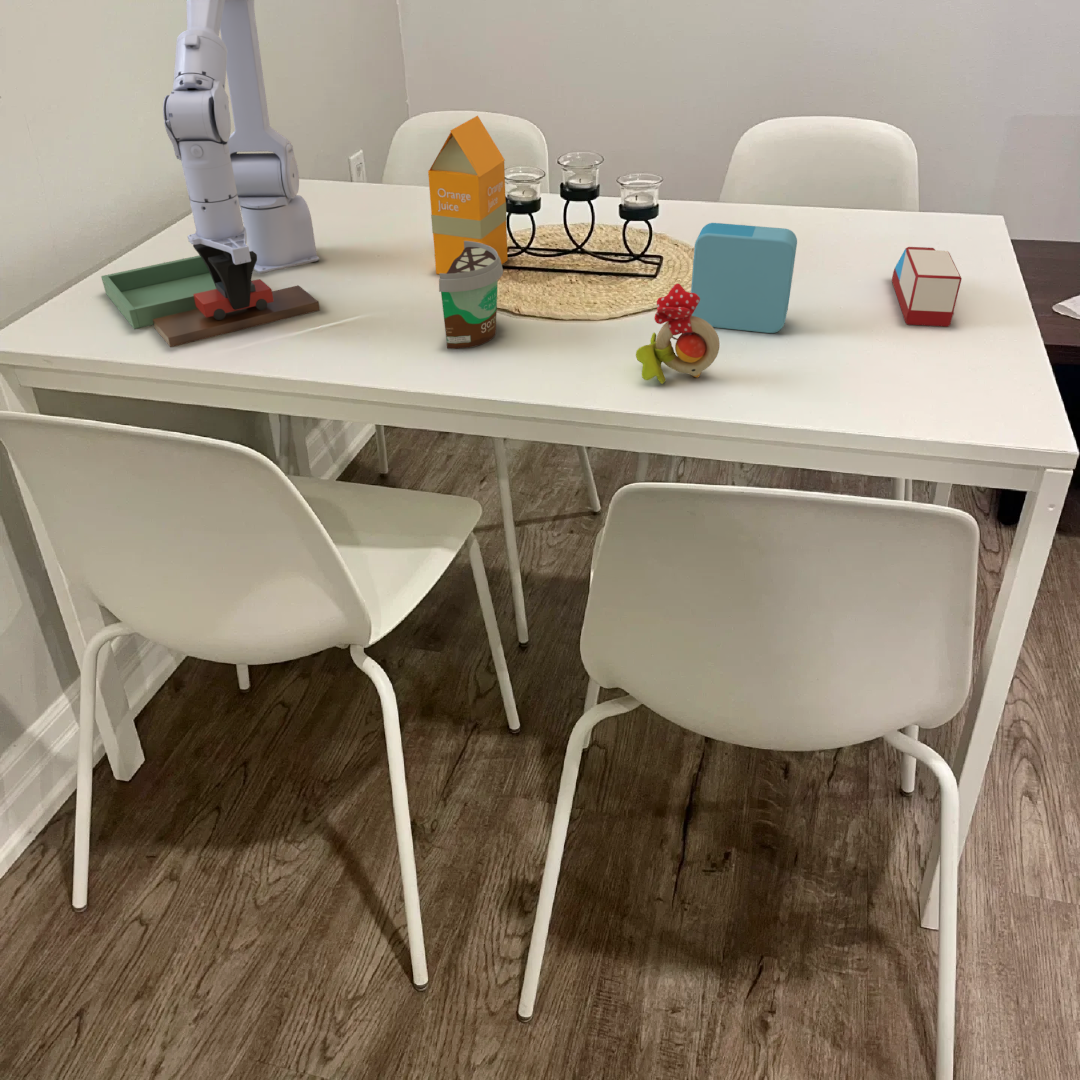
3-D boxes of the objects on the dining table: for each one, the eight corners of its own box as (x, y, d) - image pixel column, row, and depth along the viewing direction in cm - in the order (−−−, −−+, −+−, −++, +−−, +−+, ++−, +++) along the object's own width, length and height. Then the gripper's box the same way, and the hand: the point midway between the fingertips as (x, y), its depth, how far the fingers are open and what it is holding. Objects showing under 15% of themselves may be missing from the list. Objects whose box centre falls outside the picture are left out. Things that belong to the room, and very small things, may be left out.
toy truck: (931, 283, 139) (942, 236, 135) (950, 327, 127) (962, 277, 123) (891, 281, 139) (900, 234, 135) (905, 325, 127) (916, 275, 123)
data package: (786, 321, 129) (799, 228, 122) (782, 335, 125) (795, 241, 118) (693, 311, 132) (701, 221, 125) (688, 325, 128) (695, 232, 121)
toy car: (263, 296, 134) (258, 272, 132) (275, 307, 131) (270, 282, 129) (196, 311, 130) (191, 287, 128) (207, 323, 127) (202, 297, 125)
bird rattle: (693, 379, 120) (626, 349, 119) (740, 301, 114) (669, 268, 113) (693, 404, 115) (623, 373, 114) (742, 324, 109) (667, 290, 108)
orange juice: (435, 274, 144) (423, 128, 132) (461, 253, 151) (452, 113, 139) (484, 281, 142) (477, 133, 130) (509, 259, 148) (504, 117, 136)
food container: (492, 357, 122) (489, 278, 116) (443, 353, 123) (437, 275, 117) (514, 316, 131) (512, 241, 125) (469, 313, 132) (465, 239, 126)
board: (300, 295, 138) (298, 285, 137) (320, 312, 133) (318, 301, 133) (155, 329, 129) (152, 319, 129) (171, 349, 125) (168, 338, 124)
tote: (222, 269, 146) (218, 251, 145) (257, 301, 137) (253, 282, 135) (106, 295, 139) (100, 275, 138) (134, 331, 129) (129, 310, 128)
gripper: (163, 186, 125) (187, 290, 133) (199, 217, 115) (223, 327, 123) (218, 177, 128) (238, 279, 136) (258, 206, 118) (277, 314, 126)
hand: (234, 301), depth 130 cm, fingers closed on toy car, 4 cm apart
